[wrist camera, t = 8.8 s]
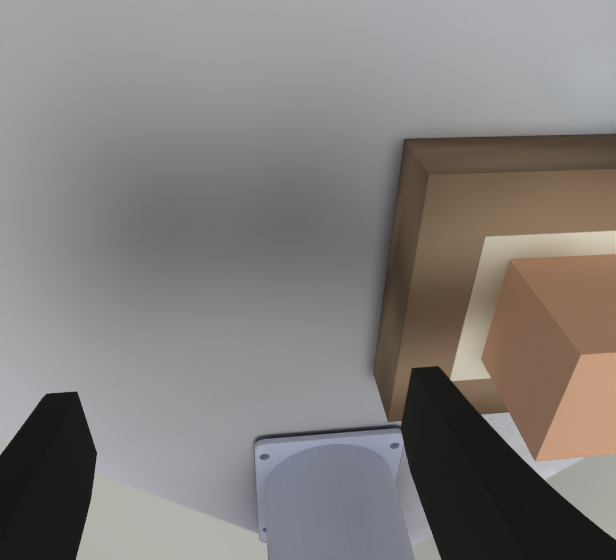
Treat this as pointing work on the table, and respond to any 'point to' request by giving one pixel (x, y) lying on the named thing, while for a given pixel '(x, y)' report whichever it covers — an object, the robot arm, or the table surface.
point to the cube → (557, 353)
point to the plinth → (481, 245)
